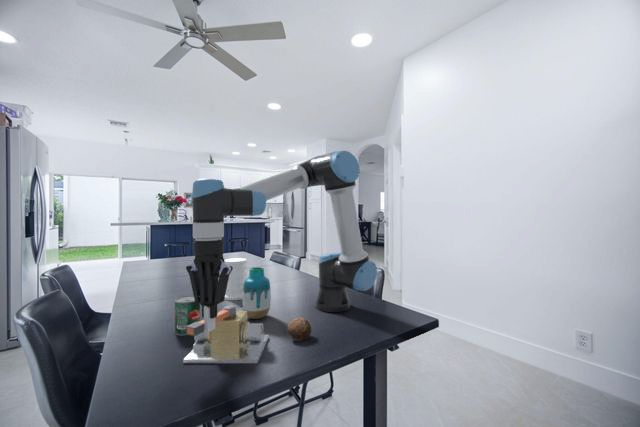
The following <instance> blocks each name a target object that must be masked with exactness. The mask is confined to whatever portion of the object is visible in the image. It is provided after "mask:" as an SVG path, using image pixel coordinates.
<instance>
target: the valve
mask: <svg viewBox="0 0 640 427" xmlns="http://www.w3.org/2000/svg"><path fill="white" fill-rule="evenodd" d="M193 339H194V341H195V342H193V343H194V344H193V345H192V350H191V351H190V352H189V353H188V354H187V355H186V356H185V357H184V358H183V359H182V360H183V364H258V363H259V361H260V358H261V356H262V354H263V351H264V349H265V347H266V344H267V343H268V340H269V334H264V323H262V322H261V323H259V322H257V323H254V322H252V323H251V322H250V321H248V317H247V311H244V310H236V316H235V317H232V318H224V319H223V320H221V321H219V322H217V323H215V329H213V330H212V331H210V332H209V333H208V332H202V333H200V334H198V335H196V336H193Z"/></svg>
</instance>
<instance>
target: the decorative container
mask: <svg viewBox="0 0 640 427" xmlns="http://www.w3.org/2000/svg"><path fill="white" fill-rule="evenodd" d="M224 261H225V262H224V263H225V264H226V265H228V266H232V267H233V269H232V271H231V273H230V275H229V279H228V284H227V289H226V294H225V299H224V301H225V300H226V301H238V300H243V284H244V281H245V280H246V279H247V278H246V275H247V272H246V268H247V266H246V263H247V261H248V260H247V258H245V257H235V258H234V257H233V258H226V259H224Z"/></svg>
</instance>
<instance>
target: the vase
mask: <svg viewBox="0 0 640 427" xmlns="http://www.w3.org/2000/svg"><path fill="white" fill-rule="evenodd" d="M245 279H246V280H245V281H244V284H243V299H242V309H243V310H242V311H247V319H251V320H258V319H263V318H265V317H266V316H268V314H269V312H270V309H271V298H272V296H271V295H272V294H271V283H270V279H269V278H268V277H266V276H265V268H264V267H261V266H256V267H254V266H253V267H250V268H249V274H248V277H247V278H245Z"/></svg>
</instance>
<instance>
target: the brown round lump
mask: <svg viewBox="0 0 640 427" xmlns="http://www.w3.org/2000/svg"><path fill="white" fill-rule="evenodd" d="M286 330H287V334H288V336H289V337H290V338H291V339H292V340H294V341H298V342H301V341H305V340H307V339H308V338H310V336H311V334H312V326H311V323H310V322H309V321H308V319H307V318H304V317H296V318H293V319H292V320H291V321H289V323H288V324H287V328H286Z"/></svg>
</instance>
